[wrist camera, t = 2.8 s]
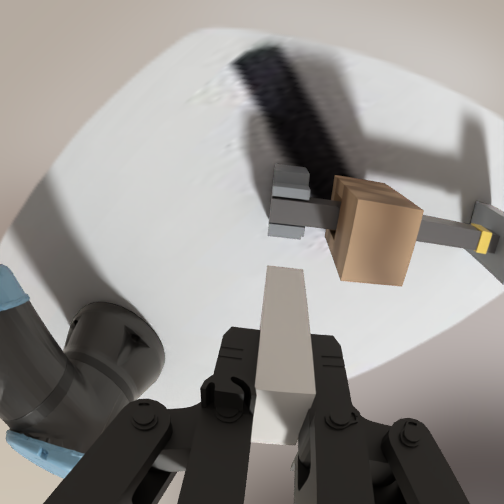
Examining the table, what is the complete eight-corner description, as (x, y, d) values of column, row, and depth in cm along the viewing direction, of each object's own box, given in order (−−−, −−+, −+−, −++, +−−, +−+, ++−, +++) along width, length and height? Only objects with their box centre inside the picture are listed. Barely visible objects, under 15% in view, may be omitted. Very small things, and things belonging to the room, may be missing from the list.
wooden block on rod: (324, 235, 29) (340, 280, 21) (334, 174, 27) (358, 199, 19) (372, 241, 29) (401, 286, 21) (384, 183, 26) (423, 210, 19)
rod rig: (268, 221, 31) (265, 260, 23) (274, 163, 29) (274, 181, 21) (479, 250, 30) (518, 285, 22) (492, 205, 28) (537, 233, 20)
